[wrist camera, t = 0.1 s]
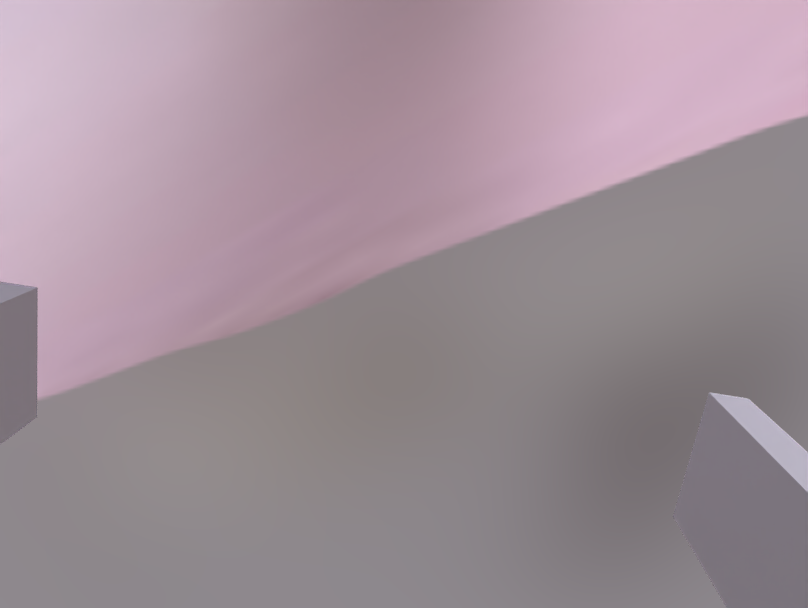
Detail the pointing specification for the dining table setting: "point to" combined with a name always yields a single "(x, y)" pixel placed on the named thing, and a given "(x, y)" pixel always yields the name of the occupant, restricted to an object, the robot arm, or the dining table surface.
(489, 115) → the dining table surface
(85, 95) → the dining table surface
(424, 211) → the dining table surface
